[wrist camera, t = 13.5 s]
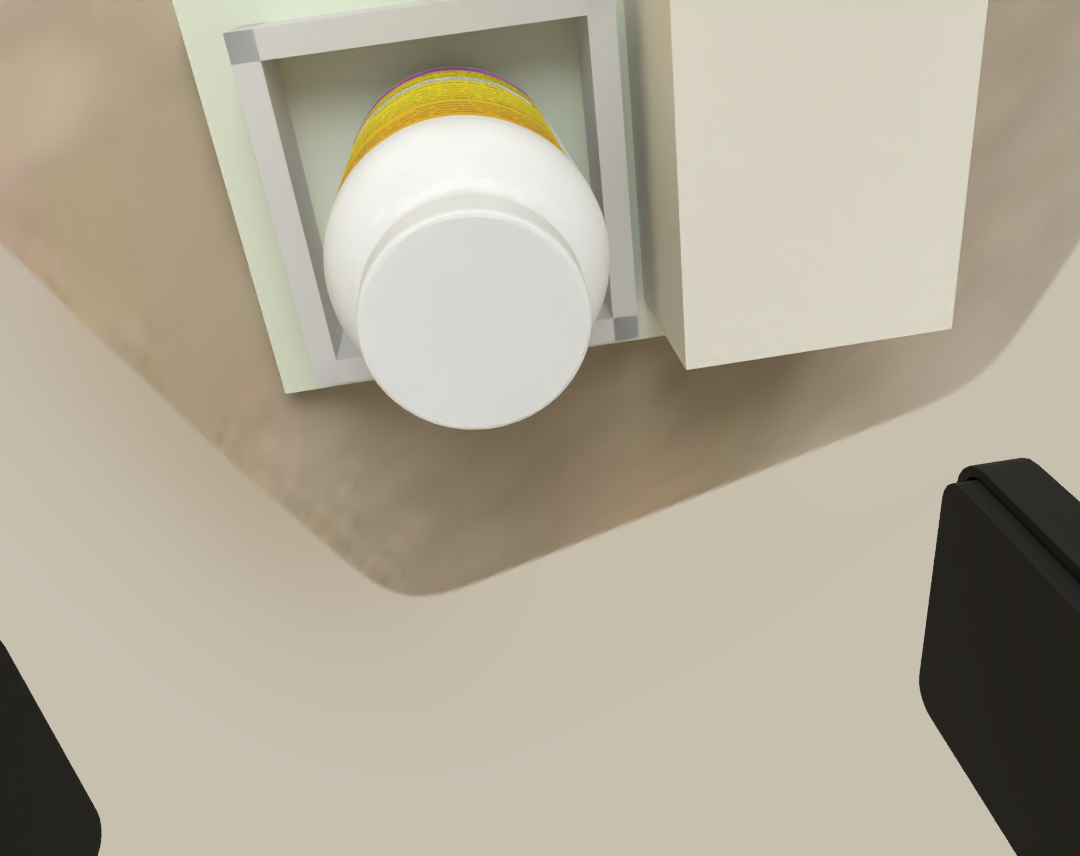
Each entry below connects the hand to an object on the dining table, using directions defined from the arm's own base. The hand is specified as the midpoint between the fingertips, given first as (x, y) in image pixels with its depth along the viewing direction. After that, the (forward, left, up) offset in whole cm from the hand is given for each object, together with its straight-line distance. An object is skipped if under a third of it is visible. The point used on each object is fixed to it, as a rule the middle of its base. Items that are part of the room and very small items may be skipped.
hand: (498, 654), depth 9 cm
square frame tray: (-4, 0, -24) cm, 24 cm away
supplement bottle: (0, 0, -23) cm, 23 cm away
